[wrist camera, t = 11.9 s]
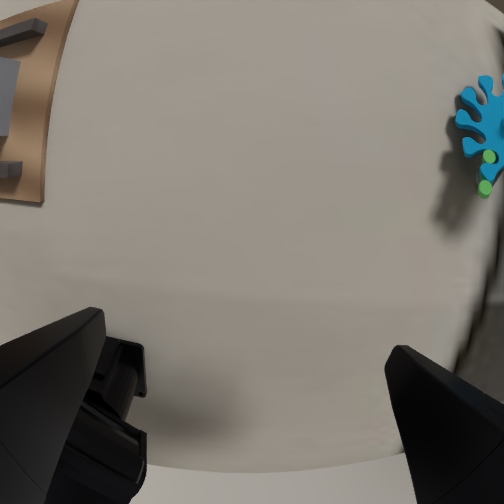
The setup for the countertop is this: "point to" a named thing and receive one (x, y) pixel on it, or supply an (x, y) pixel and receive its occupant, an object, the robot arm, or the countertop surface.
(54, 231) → the countertop surface
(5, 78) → the block
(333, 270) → the countertop surface
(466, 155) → the blue splash shape
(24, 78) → the dock
